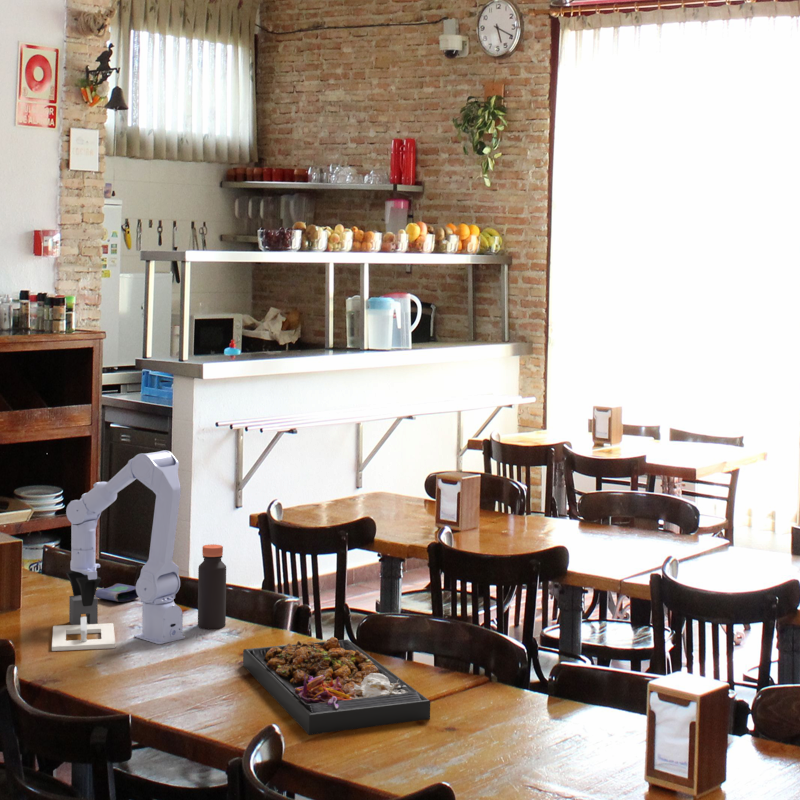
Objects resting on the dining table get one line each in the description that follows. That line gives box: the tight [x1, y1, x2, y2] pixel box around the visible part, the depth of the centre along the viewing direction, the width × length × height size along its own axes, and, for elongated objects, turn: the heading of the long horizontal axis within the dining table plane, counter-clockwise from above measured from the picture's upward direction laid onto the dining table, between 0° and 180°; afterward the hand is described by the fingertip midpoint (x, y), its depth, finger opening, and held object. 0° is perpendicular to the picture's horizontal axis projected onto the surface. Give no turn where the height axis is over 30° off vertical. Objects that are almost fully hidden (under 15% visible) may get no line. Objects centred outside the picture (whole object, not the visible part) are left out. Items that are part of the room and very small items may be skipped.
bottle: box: [197, 543, 227, 631], centre depth 294 cm, size 7×7×20 cm
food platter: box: [242, 636, 431, 736], centre depth 247 cm, size 45×25×10 cm, turn 23°
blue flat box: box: [95, 583, 139, 603], centre depth 319 cm, size 9×3×11 cm
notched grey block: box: [68, 595, 99, 625], centre depth 295 cm, size 6×5×6 cm
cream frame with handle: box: [51, 615, 117, 652], centre depth 282 cm, size 18×14×4 cm
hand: (83, 602), depth 295 cm, fingers open, 6 cm apart
